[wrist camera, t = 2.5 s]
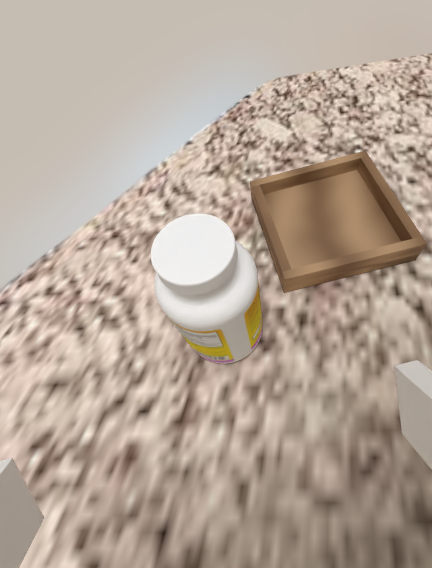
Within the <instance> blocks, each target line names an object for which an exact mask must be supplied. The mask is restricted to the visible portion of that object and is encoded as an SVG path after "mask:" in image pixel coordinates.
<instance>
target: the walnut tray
mask: <svg viewBox="0 0 432 568" xmlns="http://www.w3.org/2000/svg"><path fill="white" fill-rule="evenodd" d="M250 186H251V198H252V201H253V204H254V207H255V210H256V213H257V216H258V219H259V221H260V224H261V227H262V230H263V233H264V236H265V239H266V242H267V245H268V247H269V250H270V253H271V256H272V259H273V262H274V265H275V268H276V271H277V273H278V276H279V279H280V282H281V285H282V288H283V291H284V293H285V292H289V291H293V290H297V289H301V288H305V287H309V286H313V285H317V284H321V283H325V282H329V281H333V280H337V279H341V278H345V277H349V276H353V275H357V274H361V273H365V272H369V271H373V270H377V269H381V268H385V267H389V266H393V265H397V264H401V263H405V262H409V261H413V260H416V258H417V257H418V256H419V254H420V253H421V251H422V250H423V249H424V247H425V246H426V245H427V243H426V242H425V240H424V238H423V237H422V235H421V234H420V232H419V231H418V229H417V228H416V226H415V225H414V223H413V222H412V220H411V219H410V217H409V216H408V214H407V213H406V211H405V210H404V208H403V207H402V205H401V204H400V202H399V201H398V199H397V198H396V196H395V195H394V193H393V192H392V190H391V189H390V187H389V186H388V184H387V183H386V181H385V180H384V178H383V177H382V175H381V174H380V172H379V171H378V169H377V168H376V166H375V165H374V163H373V162H372V160H371V159H370V157H369V156H368V154H367V153H366V151H363V152H359V153H355V154H351V155H348V156H344V157H340V158H336V159H333V160H329V161H325V162H321V163H318V164H314V165H310V166H306V167H303V168H299V169H295V170H291V171H288V172H284V173H280V174H276V175H273V176H269V177H265V178H261V179H258V180H254V181H250Z"/></svg>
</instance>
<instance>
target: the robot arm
mask: <svg viewBox="0 0 432 568" xmlns="http://www.w3.org/2000/svg"><path fill="white" fill-rule="evenodd" d="M394 368H395V377H396V386H397V394H398V403H399V412H400V421H401V429H402V435H403V436H404V437H405V438H406V439H407V441H408V442H409V443H410V444H411V445H412V447H413V448H414V449H415V450H416V451H417V453H418V454H419V455H420V456H421V457H422V459H423V460H424V461H425V462H426V464H427V465H428V466H429V467H430V468H431V470H432V371H431V370H430V369H429V368H427V367H426V366H425V365H423V364H422V363H421V362H419V361H418V360H416V361H412V362H408V363H403V364H399V365H395V366H394ZM43 519H44V516H43V514H42V512H41V510H40V508H39V507H38V505H37V503H36V501H35V499H34V497H33V495H32V493H31V492H30V490H29V488H28V486H27V484H26V482H25V480H24V478H23V477H22V475H21V473H20V471H19V469H18V467H17V465H16V464H15V462H14V460H13V458H10V459H6V460H2V461H0V568H19V567H20V565H21V563H22V561H23V559H24V557H25V555H26V553H27V551H28V549H29V547H30V545H31V543H32V541H33V539H34V537H35V535H36V533H37V531H38V529H39V527H40V525H41V523H42V521H43Z"/></svg>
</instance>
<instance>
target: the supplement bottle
mask: <svg viewBox="0 0 432 568" xmlns="http://www.w3.org/2000/svg"><path fill="white" fill-rule="evenodd" d="M151 261H152V265H153V267H154V269H155V271H156V276H155V286H154V287H155V294H156V298H157V300H158V303H159V305H160V307H161V309H162V310H163V311H164V313H165V314H166V316H167V317H168V318H169V319H170V321H171V322H172V323H173V324H174V325H175V327H176V328H177V329H178V331H179V332H180V333H181V334H182V336H183V337H184V338H185V339H186V341H187V342H188V343H189V344H190V346H191V347H192V348H193V349H194V350H195V351H196V352H197V353H198V354H199V355H200V356H201V357H203V358H205V359H206V360H208V361H211V362H214V363H221V364H227V363H233V362H236V361H239V360H241V359H243V358H245V357H246V356H248V355H249V354H250V353H251V352H252V351H253V350H254V349H255V347H256V346H257V344H258V342H259V340H260V338H261V334H262V312H261V304H260V294H259V284H258V274H257V268H256V265H255V262H254V260H253V258H252V256H251V255H250V253H249V252H248V251H247V250H246V249H245V248H244V247H243V246H242V245H241V244H240V243H238V242H237V241H235V237H234V234H233V232H232V230H231V229H230V227H229V226H228V225H227V224H226V223H225V222H224V221H222V220H221V219H219V218H217V217H215V216H212V215H208V214H190V215H186V216H182V217H180V218H177V219H175V220H173V221H172V222H170V223H169V224H167V225H166V226H165V227H164V228H163V229H162V230H161V231H160V232H159V234H158V235H157V236H156V238H155V240H154V242H153V245H152V249H151Z"/></svg>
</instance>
